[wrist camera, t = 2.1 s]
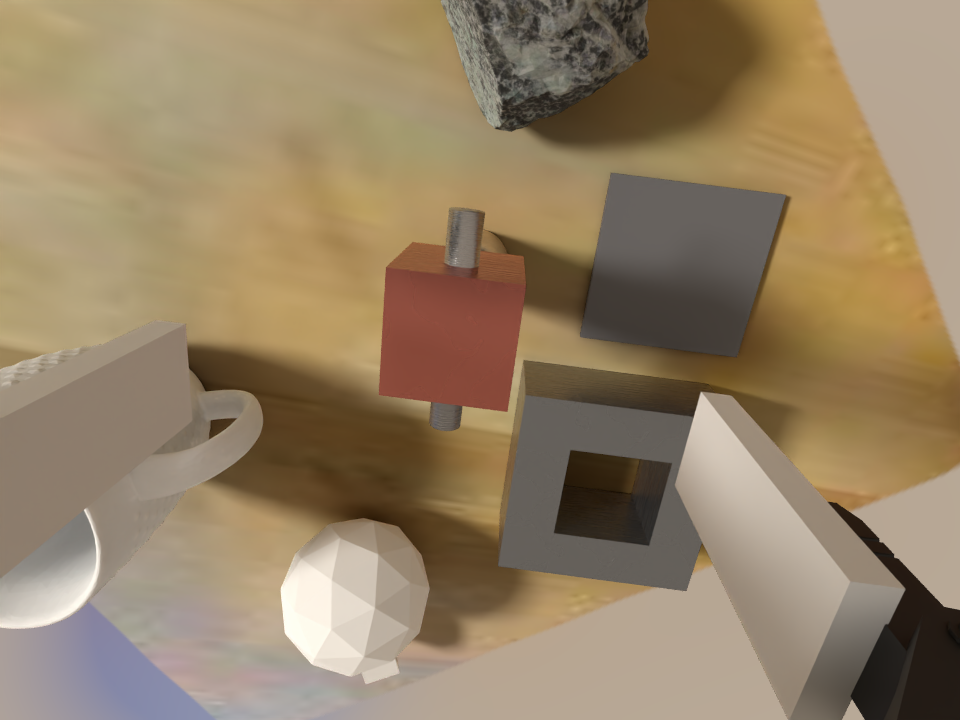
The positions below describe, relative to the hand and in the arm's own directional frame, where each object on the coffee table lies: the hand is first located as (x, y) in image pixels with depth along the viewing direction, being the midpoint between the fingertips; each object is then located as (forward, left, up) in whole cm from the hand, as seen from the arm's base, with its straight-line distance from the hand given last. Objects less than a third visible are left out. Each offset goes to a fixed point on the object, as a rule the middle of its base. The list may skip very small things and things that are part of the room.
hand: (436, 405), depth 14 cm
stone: (-12, +1, -19) cm, 22 cm away
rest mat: (-1, +11, -18) cm, 21 cm away
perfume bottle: (+22, -5, -18) cm, 29 cm away
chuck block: (+11, +9, -18) cm, 23 cm away
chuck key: (0, 0, -18) cm, 18 cm away
